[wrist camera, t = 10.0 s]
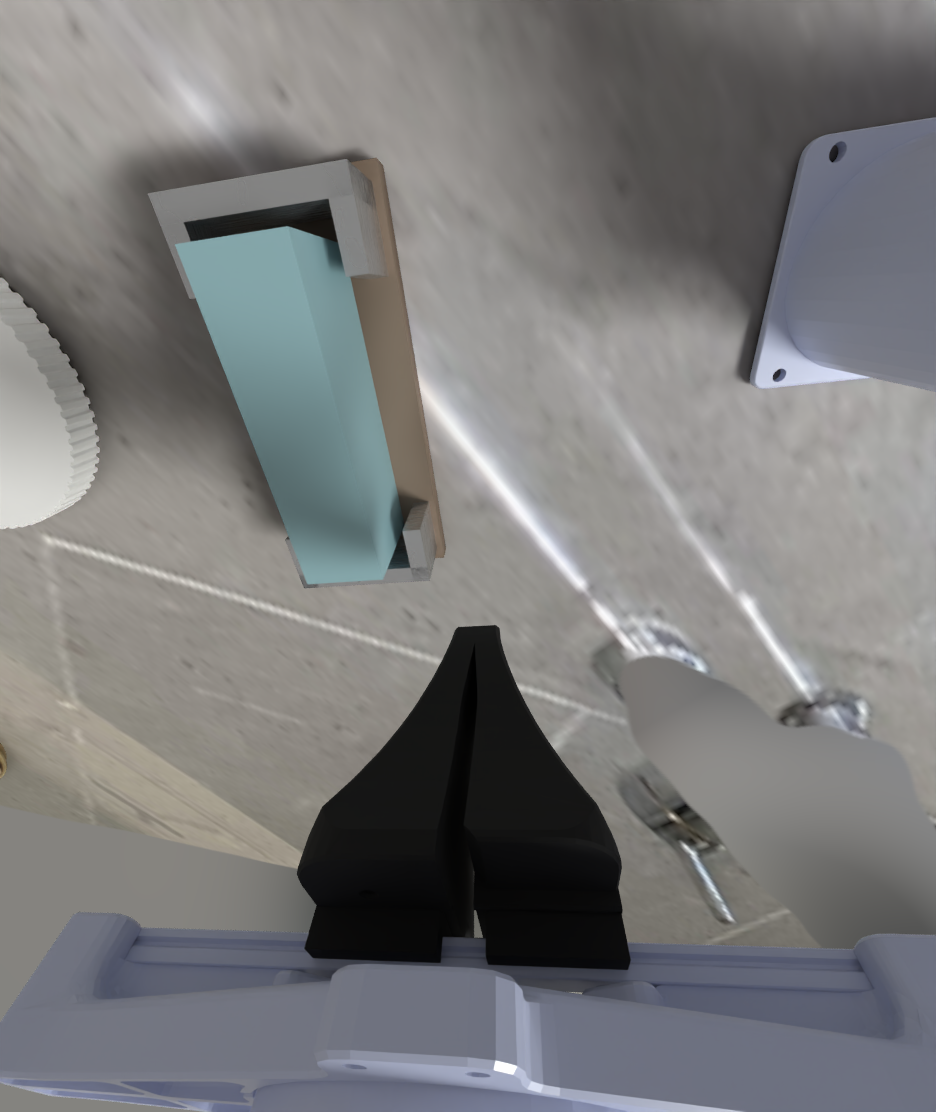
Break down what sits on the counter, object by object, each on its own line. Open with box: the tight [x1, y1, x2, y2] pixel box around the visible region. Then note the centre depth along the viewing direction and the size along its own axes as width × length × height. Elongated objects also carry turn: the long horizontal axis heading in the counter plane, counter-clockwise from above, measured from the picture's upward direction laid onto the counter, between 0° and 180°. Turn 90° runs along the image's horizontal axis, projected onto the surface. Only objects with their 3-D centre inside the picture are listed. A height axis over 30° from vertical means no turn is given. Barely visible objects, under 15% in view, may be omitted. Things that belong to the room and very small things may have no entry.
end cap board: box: [234, 158, 446, 558], centre depth 19 cm, size 7×16×1 cm, turn 7°
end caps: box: [148, 159, 437, 588], centre depth 18 cm, size 6×15×3 cm, turn 7°
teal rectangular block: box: [175, 226, 404, 584], centre depth 17 cm, size 3×12×5 cm, turn 7°
